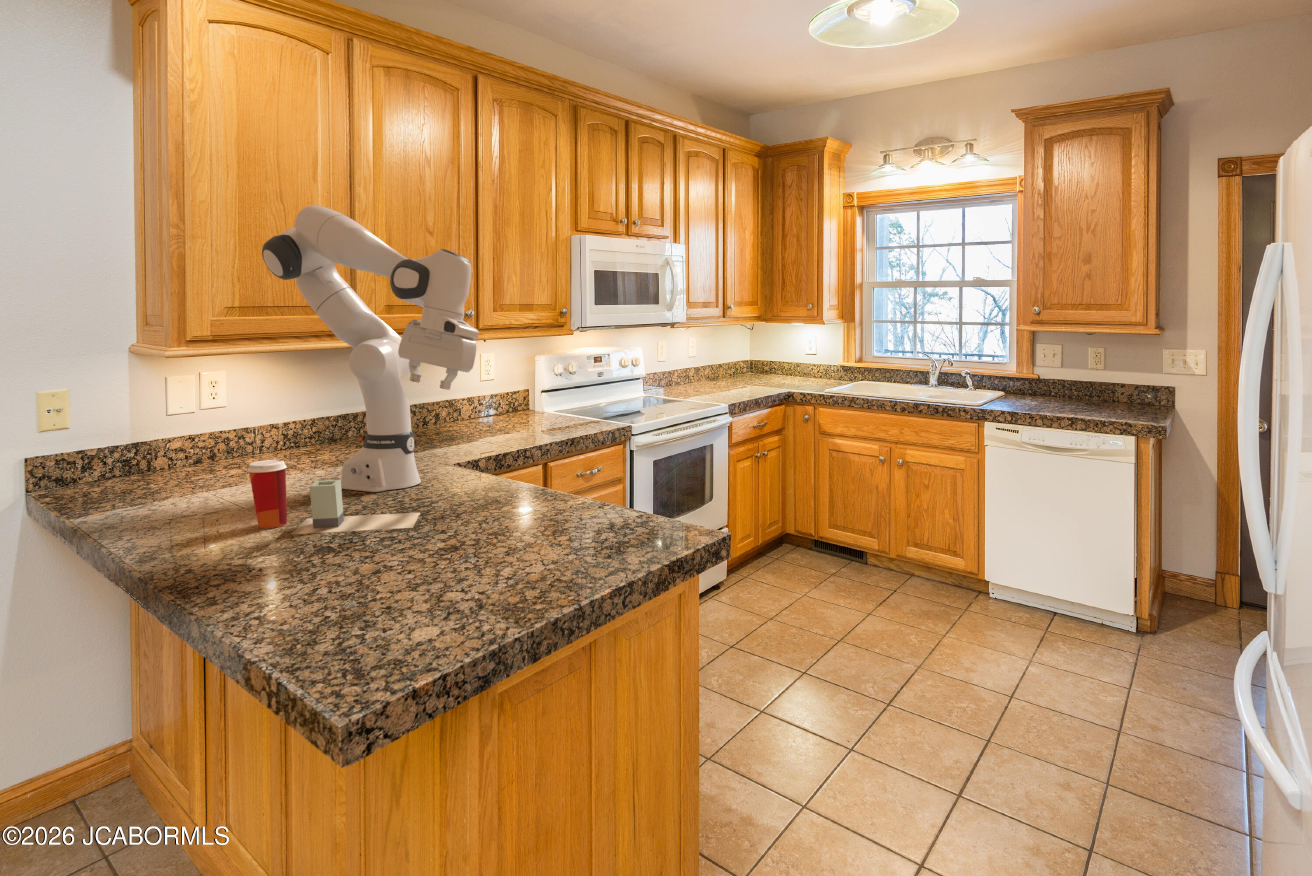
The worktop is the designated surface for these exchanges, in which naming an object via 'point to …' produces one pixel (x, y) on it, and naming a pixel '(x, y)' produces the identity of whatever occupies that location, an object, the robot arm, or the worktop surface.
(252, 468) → the paper cup
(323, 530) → the pin board
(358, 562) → the worktop surface
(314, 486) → the sleeve
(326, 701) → the worktop surface
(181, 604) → the worktop surface
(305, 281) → the robot arm
